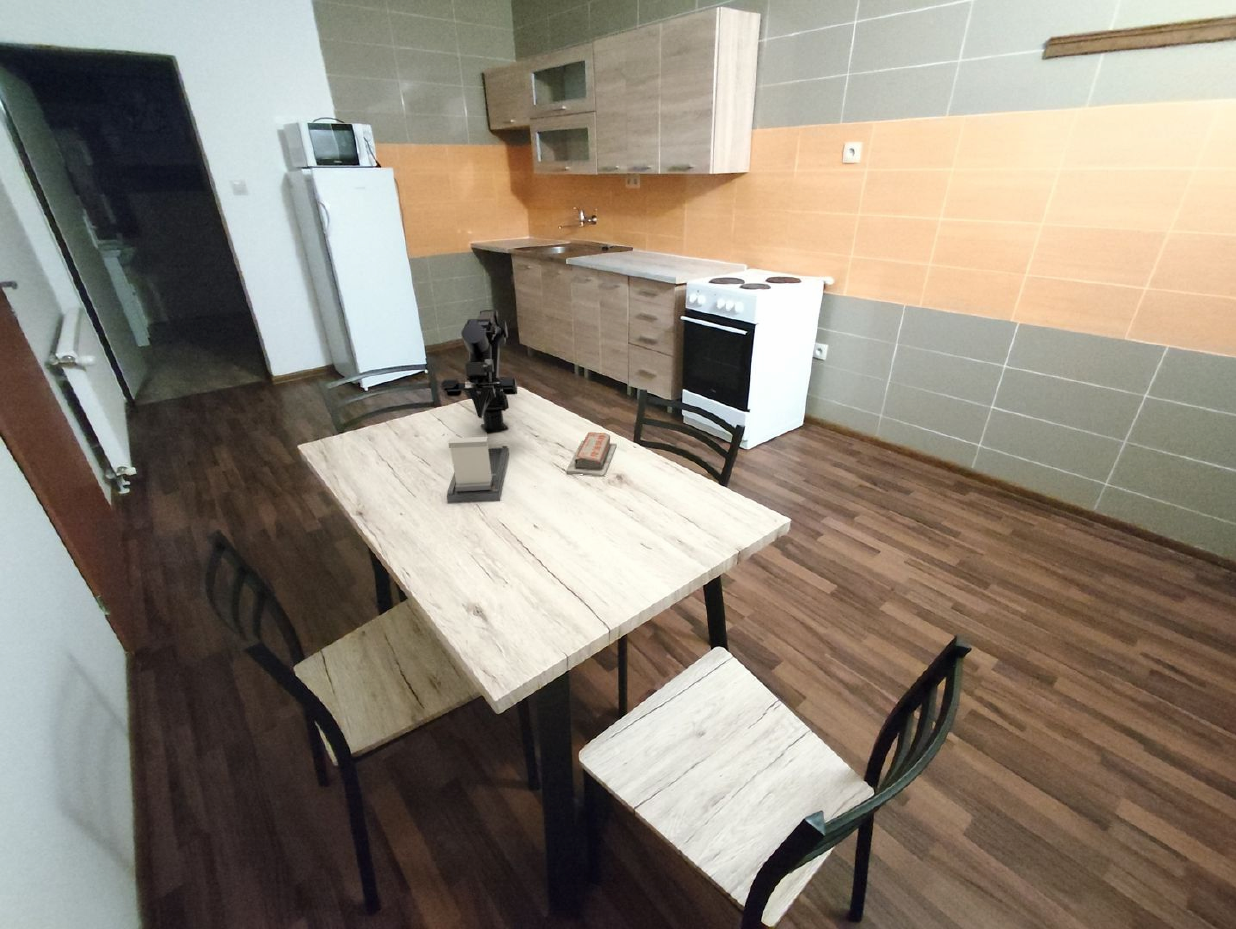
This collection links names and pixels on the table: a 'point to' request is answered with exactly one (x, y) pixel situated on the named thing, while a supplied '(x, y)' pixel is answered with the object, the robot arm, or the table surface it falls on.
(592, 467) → the packaged product
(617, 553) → the table surface
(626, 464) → the table surface
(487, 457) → the fader paddle
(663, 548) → the table surface
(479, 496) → the tray
